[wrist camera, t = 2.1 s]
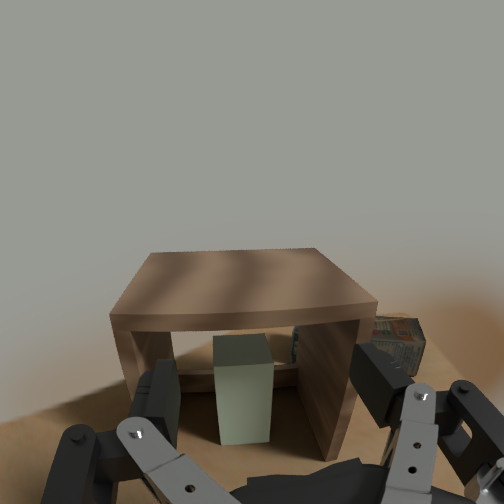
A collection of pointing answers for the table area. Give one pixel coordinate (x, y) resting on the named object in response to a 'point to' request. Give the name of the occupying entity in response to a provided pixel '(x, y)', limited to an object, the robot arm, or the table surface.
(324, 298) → the walnut box
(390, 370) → the robot arm
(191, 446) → the table surface
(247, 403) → the sage block
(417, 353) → the beverage carton
